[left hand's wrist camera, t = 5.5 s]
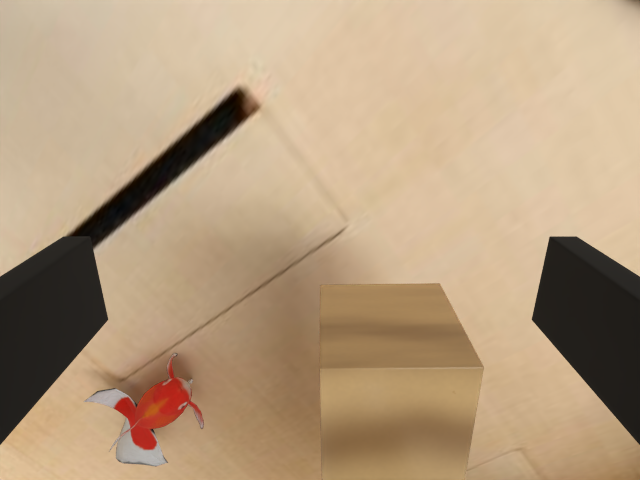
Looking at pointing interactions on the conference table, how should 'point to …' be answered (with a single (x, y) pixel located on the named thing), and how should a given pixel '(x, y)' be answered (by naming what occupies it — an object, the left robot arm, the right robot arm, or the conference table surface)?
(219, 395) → the conference table surface
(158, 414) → the fish
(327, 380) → the box
